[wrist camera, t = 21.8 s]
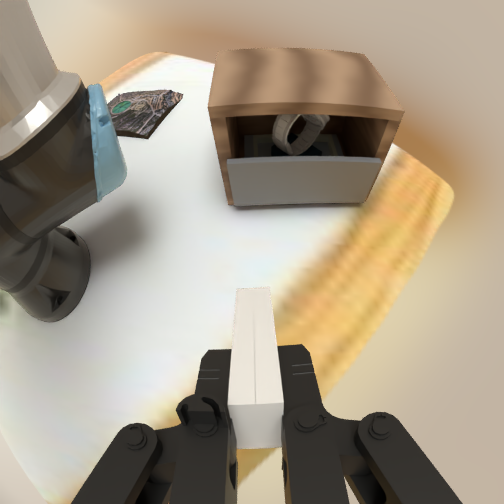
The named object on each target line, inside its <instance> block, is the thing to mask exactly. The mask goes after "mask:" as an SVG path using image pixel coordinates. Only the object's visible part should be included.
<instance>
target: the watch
mask: <svg viewBox="0 0 504 504" xmlns="http://www.w3.org/2000/svg"><path fill="white" fill-rule="evenodd" d="M300 115H301V116H302V117H303V118H304V120H305V121H307V122H306V125H305V127H304V130H303V131H302V133H301V134H300V135H301V136H299V137H298V136H297V135H295V134H293V133H290V134H289V135H287V134H288V132H289V130H290V128H291V126H292V125H293V122H295V121H296V119H297V118H298V117H299V116H300ZM284 120H285V121H284ZM329 120H330V118H329V116H328V115H316V114H290V115H289V114H279V115H278V116H277V118H276V121H275V123H274V126H273V136H272V139H273V142H274V145H273V146H271V157H279V156H322V151H320V150H319V149H317V148H316V147H314V146H313V145H312V144H313V143H314V141H315V140H316V138H317V137H318V135H319V133H320V131H321V130H323V129H324V127H325V125H326V123H327V122H328V121H329ZM286 121H287V122H286ZM291 121H292V122H291ZM310 129H311V130H310ZM306 134H307V135H306ZM309 136H310V137H309ZM311 137H312V138H311ZM315 137H316V138H315ZM311 142H312V143H311Z"/></svg>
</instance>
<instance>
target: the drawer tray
mask: <svg viewBox="0 0 504 504" xmlns="http://www.w3.org/2000/svg"><path fill="white" fill-rule="evenodd" d="M287 135H289V134H287ZM295 135H297V136H298V137H299V136H301V135H300V134H295ZM306 135H307V134H306ZM272 136H273V134H264V135H244V150H245V158H237V159H227V169H228V174H229V180H230V185H231V190H232V196H233V201H234V206H251V205H273V204H303V203H364V201H365V199H366V197H367V195H368V193H369V190H370V188H371V186H372V184H373V182H374V180H375V177H376V175H377V173H378V171H379V168H380V166H381V164H382V162H381V160H380V158H369V157H344V156H343V152H342V149H341V146H340V143H339V140H338V137H337V134H319V135H318V137H317V138H316V137H315V138H316V140H315V141H314V143H313V144H312V145H313V146H314V147H316V148H317V149H319V150H320V151H322V156H279V157H271V146H273V145H274V142H273V139H272ZM309 137H310V136H309ZM311 138H312V137H311ZM311 143H312V142H311Z"/></svg>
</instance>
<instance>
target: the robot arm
mask: <svg viewBox="0 0 504 504" xmlns="http://www.w3.org/2000/svg"><path fill="white" fill-rule="evenodd" d="M126 176H127V167H126V163H125V160H124V157H123V154H122V151H121V148H120V144H119V141H118V138H117V135H116V132H115V129H114V125H113V122H112V119H111V115H110V112H109V109H108V105H107V102H106V99H105V95H104V93H103V89H102V86H101V85H100V84H95V85H89V86H88V88H87V89H86V88H85V87H84V84H83V82H82V80H81V78H80V76H79V75H78V74H76V73H69V72H62V71H59V70H58V69H57V67H56V65H55V63H54V61H53V60H52V57H51V55H50V53H49V50H48V48H47V46H46V44H45V42H44V40H43V37H42V35H41V33H40V31H39V28H38V26H37V23H36V21H35V19H34V16H33V14H32V11H31V9H30V6H29V4H28V1H27V0H0V288H1V289H3V290H5V291H6V292H8V293H10V294H11V295H12V297H13V298H14V299H15V300H16V301H17V302H18V303H19V304H20V305H21V306H22V308H23V309H24V310H25V311H26V312H27V313H28V314H30V315H31V316H33V317H35V318H37V319H40V320H42V321H45V322H54V321H58V320H60V319H62V318H64V317H65V316H67V315H68V314H69V313H70V312H71V311H72V310H73V309H74V308H75V307H76V305H77V304H78V302H79V301H80V299H81V297H82V295H83V293H84V291H85V289H86V286H87V283H88V279H89V273H90V255H89V251H88V248H87V246H86V244H85V242H84V241H83V239H82V238H81V237H79V236H78V235H77V234H76V233H75V232H74V231H72V230H71V229H69V228H66V227H63V226H60V225H61V224H62V223H64V222H65V221H67V220H69V219H70V218H72V217H73V216H75V215H76V214H78V213H80V212H81V211H83V210H84V209H86V208H88V207H89V206H91V205H93V204H94V203H96V202H100V201H101V200H102V197H104V196H105V195H107V194H109V193H110V192H112V191H113V190H115V189H116V188H118V187H119V186H121V184H122V183H123V182H124V180H125V178H126ZM176 412H177V414H178V416H179V419H180V421H181V424H179V425H177V426H174V427H171V428H165V429H160V430H153V429H152V428H151V427H149V426H148V425H146V424H141V423H134V424H129V425H127V426H125V427H123V428H122V429H121V430H120V431H119V432H118V434H117V435H116V436H115V438H114V439H113V441H112V442H111V444H110V445H109V447H108V448H107V450H106V451H105V453H104V454H103V456H102V457H101V459H100V460H99V462H98V463H97V465H96V466H95V468H94V469H93V471H92V472H91V474H90V475H89V477H88V478H87V480H86V481H85V483H84V484H83V486H82V487H81V489H80V491H79V492H78V494H77V495H76V497H75V498H74V500H73V501H72V503H71V504H168V503H169V504H237V476H238V462H237V458H236V449H260V448H277V447H282V454H283V457H282V470H283V477H284V490H285V503H286V504H349V499H348V494H347V489H346V485H345V480H344V477H345V479H346V480H347V482H348V484H349V486H350V488H351V489H352V491H353V493H354V495H355V496H356V498H357V500H358V502H359V503H360V504H462V502H461V501H460V500H459V498H458V497H457V496H456V494H455V493H454V492H453V490H452V489H451V488H450V486H449V485H448V484H447V482H446V481H445V480H444V479H443V477H442V476H441V475H440V474H439V472H438V471H437V470H436V468H435V467H434V465H433V464H432V463H431V462H430V460H429V459H428V458H427V457H426V455H425V454H424V452H423V451H422V450H421V449H420V447H419V446H418V445H417V443H416V442H415V441H414V439H413V438H412V437H411V436H410V434H409V433H408V432H407V431H406V429H405V428H404V427H403V425H402V424H401V423H400V421H399V420H398V419H397V418H395V417H394V416H393V415H391V414H388V413H386V412H375V413H372V414H369V415H367V416H366V417H364V418H363V419H362V420H361V421H357V420H346V419H340V418H337V417H334V416H332V415H331V414H330V413H328V412H327V411H326V409H325V408H324V406H323V404H322V400H321V396H320V392H319V388H318V384H317V380H316V376H315V373H314V368H313V365H312V360H311V356H310V352H309V351H308V350H307V349H306V348H305V347H304V346H303V345H302V344H299V345H287V346H277V341H276V333H275V325H274V317H273V309H272V302H271V294H270V287H260V288H242V289H237V291H236V303H235V315H234V327H233V339H232V349H223V350H208V351H207V352H206V354H205V355H204V356H203V358H202V359H201V364H200V371H199V374H198V380H197V384H196V390H195V394H193V395H191V396H188V397H186V398H184V399H183V400H182V401H181V402H180V403H179V404H178V406H177V408H176Z"/></svg>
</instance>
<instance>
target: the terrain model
mask: <svg viewBox="0 0 504 504" xmlns="http://www.w3.org/2000/svg"><path fill="white" fill-rule="evenodd" d="M118 95H119V96H116V97H115V98H114V99H113V100H112V101H110V102H109V103H108V104H107V105H108V109H109V112H110V115H111V119H112V122H113V125H114V129H115V132H116V135H117V136H126V137H136V138H144V139H148V138H149V137H150V136H151V135H152V133H153V132H154V131H155V130H156V128H157V127H158V126H159V124H160V123H161V122H162V121H163V120H164V118H165V117H166V116H167V115H168V114H169V113H170V111H171V110H172V109H173V108H174V107H175V106H176V105H177V104H178V103H179V101H180V100H181V99H182V97H183V94H181V93H176V92H173V91H172V90H156V91H140V92H139V91H138V92H128V93H123V94H121V95H120V94H118Z"/></svg>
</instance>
